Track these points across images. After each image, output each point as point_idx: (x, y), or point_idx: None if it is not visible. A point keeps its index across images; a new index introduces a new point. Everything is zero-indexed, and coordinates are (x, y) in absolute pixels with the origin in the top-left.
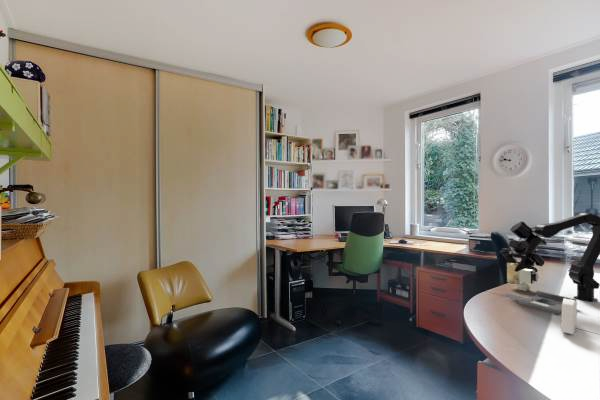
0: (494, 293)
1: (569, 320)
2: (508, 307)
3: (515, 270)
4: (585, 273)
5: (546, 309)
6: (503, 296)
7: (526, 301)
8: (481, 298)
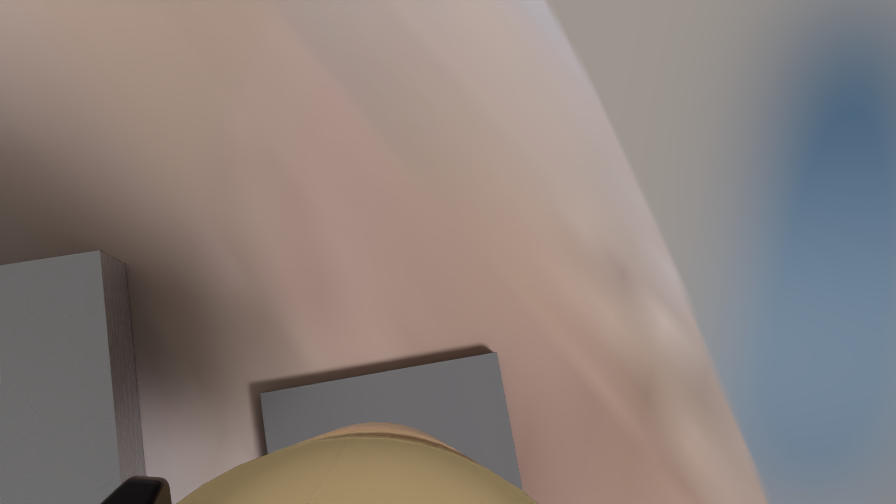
0: (631, 407)
1: None
2: (103, 22)
3: (146, 478)
4: None
5: None
6: (442, 361)
7: (1, 293)
8: (492, 14)
